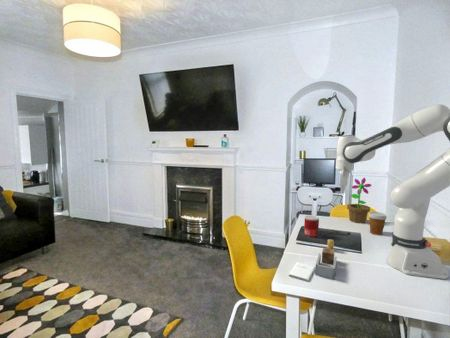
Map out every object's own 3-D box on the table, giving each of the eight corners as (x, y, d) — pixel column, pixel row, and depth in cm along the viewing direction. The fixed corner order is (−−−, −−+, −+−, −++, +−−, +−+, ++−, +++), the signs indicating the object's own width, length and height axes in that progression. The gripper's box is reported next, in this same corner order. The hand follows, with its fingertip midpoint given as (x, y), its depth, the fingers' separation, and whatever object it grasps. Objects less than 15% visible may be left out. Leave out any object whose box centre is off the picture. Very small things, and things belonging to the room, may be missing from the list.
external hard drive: (288, 277, 111) (296, 264, 122) (308, 283, 107) (315, 269, 117) (288, 273, 111) (296, 261, 121) (308, 279, 107) (315, 266, 117)
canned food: (319, 238, 151) (319, 219, 150) (304, 237, 153) (305, 218, 151) (317, 233, 159) (318, 215, 157) (303, 232, 160) (304, 214, 159)
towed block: (335, 249, 136) (336, 240, 136) (333, 264, 121) (333, 254, 120) (325, 247, 138) (325, 238, 138) (321, 261, 123) (322, 251, 122)
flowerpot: (371, 220, 182) (374, 178, 178) (366, 225, 171) (369, 180, 167) (349, 216, 191) (352, 175, 187) (343, 221, 181) (346, 178, 176)
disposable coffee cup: (368, 234, 156) (369, 215, 155) (366, 229, 165) (367, 210, 164) (386, 237, 153) (388, 217, 151) (383, 231, 162) (385, 212, 160)
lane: (336, 266, 119) (336, 256, 119) (334, 279, 109) (334, 269, 108) (318, 262, 123) (319, 253, 122) (315, 274, 112) (315, 264, 112)
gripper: (351, 168, 129) (349, 196, 131) (351, 164, 147) (349, 188, 149) (337, 167, 131) (335, 194, 133) (339, 163, 150) (337, 187, 151)
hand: (343, 191), depth 141 cm, fingers open, 8 cm apart
